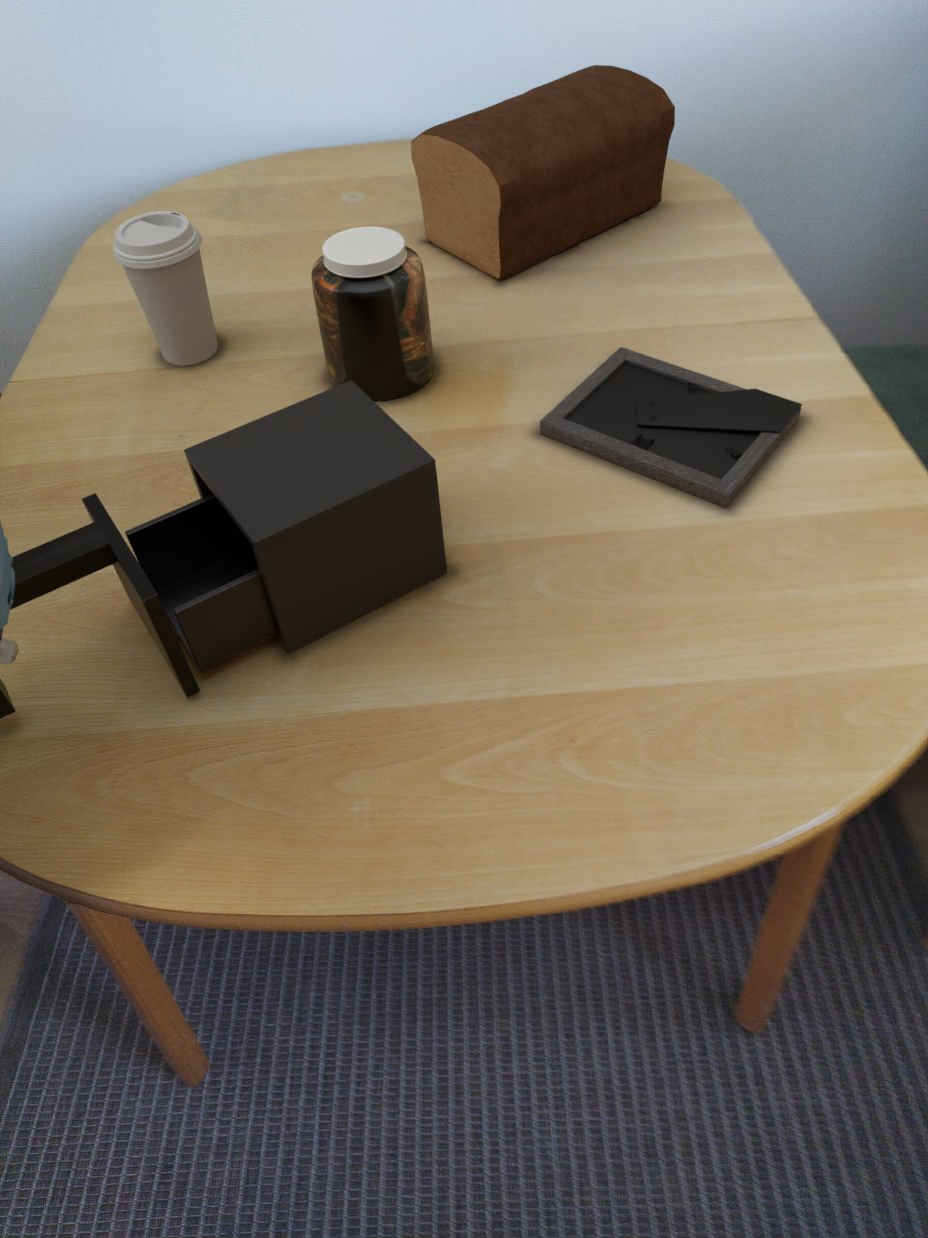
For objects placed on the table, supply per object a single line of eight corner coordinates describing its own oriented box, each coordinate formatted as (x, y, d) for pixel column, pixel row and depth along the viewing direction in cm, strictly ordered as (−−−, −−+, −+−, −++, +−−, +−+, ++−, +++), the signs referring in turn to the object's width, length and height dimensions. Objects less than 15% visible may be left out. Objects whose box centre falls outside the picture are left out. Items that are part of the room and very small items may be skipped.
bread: (669, 207, 129) (682, 78, 117) (504, 288, 118) (500, 154, 106) (577, 168, 139) (580, 46, 127) (416, 239, 127) (403, 112, 115)
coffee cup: (244, 353, 111) (211, 229, 100) (168, 383, 108) (125, 259, 97) (211, 319, 117) (176, 198, 106) (138, 347, 114) (94, 225, 102)
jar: (351, 414, 102) (328, 285, 91) (315, 361, 109) (290, 236, 98) (450, 382, 105) (439, 253, 94) (409, 332, 112) (394, 207, 101)
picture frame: (798, 420, 97) (619, 358, 106) (802, 403, 95) (621, 343, 104) (726, 508, 89) (539, 433, 98) (729, 491, 87) (539, 417, 96)
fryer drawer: (13, 787, 72) (-71, 680, 62) (-32, 670, 80) (-112, 559, 70) (358, 611, 82) (333, 495, 72) (287, 523, 90) (255, 408, 80)
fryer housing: (288, 654, 80) (254, 543, 70) (222, 560, 88) (183, 449, 78) (447, 573, 85) (435, 459, 75) (371, 491, 93) (351, 379, 84)
